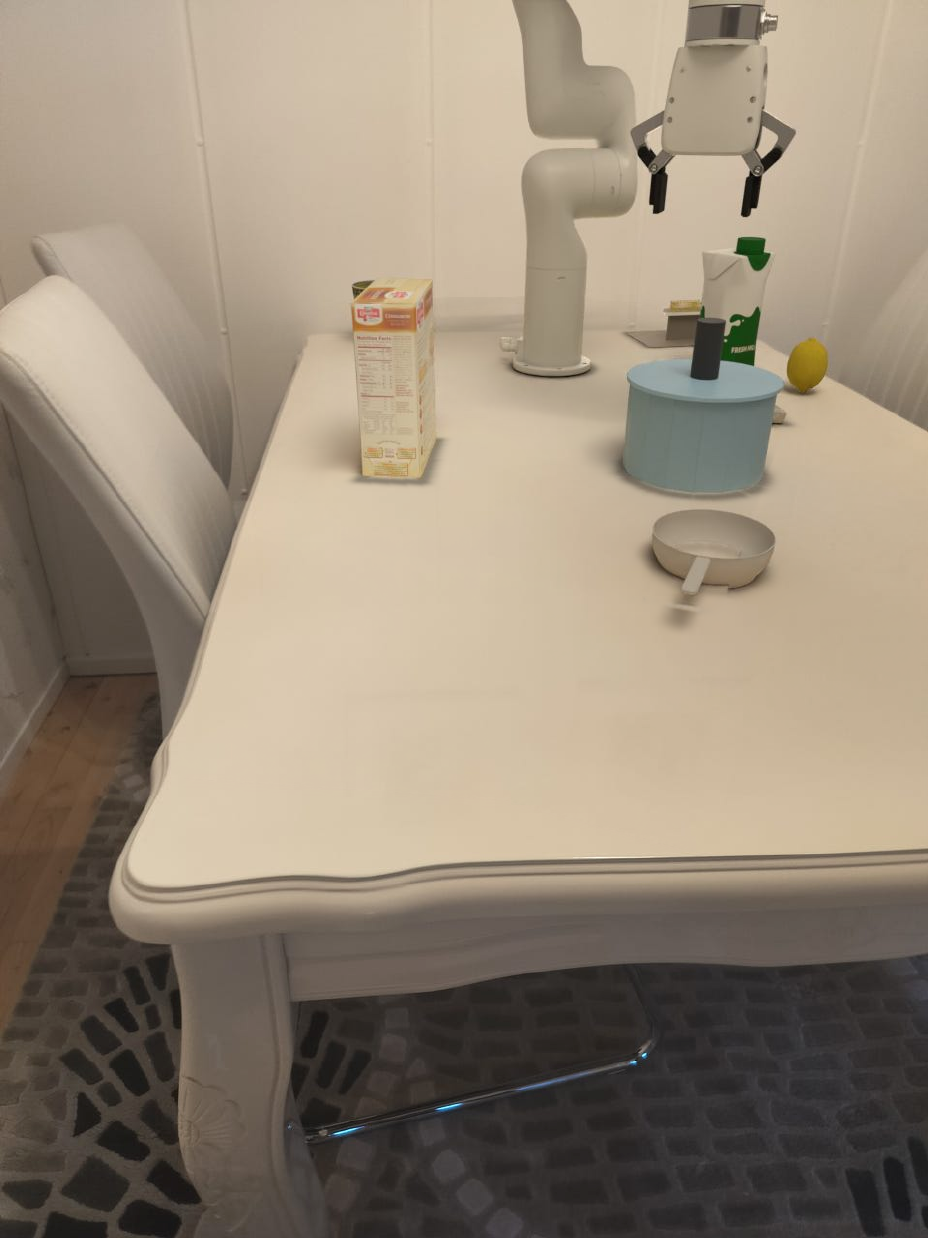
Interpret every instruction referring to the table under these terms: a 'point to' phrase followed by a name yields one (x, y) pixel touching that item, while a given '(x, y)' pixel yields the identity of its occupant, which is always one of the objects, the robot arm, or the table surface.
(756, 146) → the robot arm
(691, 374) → the blue pot lid
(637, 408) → the bowl
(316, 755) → the table surface
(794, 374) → the lemon
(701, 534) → the saucepan
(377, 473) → the coffeecake box
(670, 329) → the platform
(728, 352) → the milk carton
